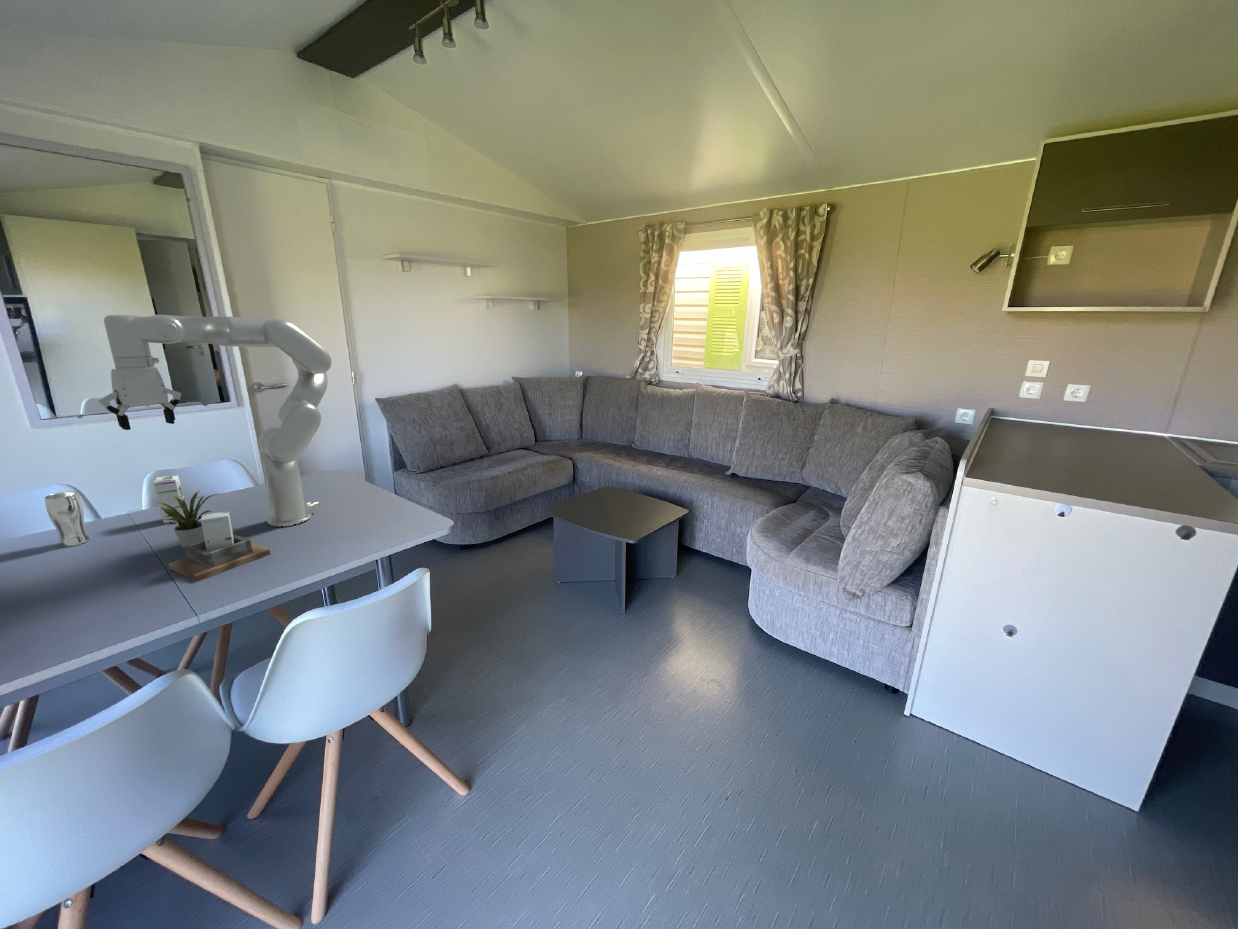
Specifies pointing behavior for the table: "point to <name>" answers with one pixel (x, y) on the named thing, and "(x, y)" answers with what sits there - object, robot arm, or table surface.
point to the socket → (217, 558)
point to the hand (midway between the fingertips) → (149, 426)
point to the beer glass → (67, 517)
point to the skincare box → (217, 530)
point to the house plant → (187, 520)
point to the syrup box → (168, 494)
